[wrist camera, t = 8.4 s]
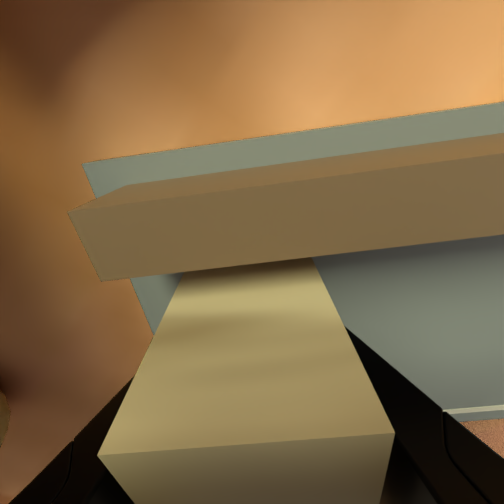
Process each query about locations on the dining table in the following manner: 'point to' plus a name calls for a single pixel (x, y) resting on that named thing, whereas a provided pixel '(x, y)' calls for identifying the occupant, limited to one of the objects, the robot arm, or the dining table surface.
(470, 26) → the dining table surface
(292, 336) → the wooden block with peg
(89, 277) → the dining table surface
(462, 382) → the board
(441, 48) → the dining table surface
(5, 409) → the hammer
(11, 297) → the dining table surface
